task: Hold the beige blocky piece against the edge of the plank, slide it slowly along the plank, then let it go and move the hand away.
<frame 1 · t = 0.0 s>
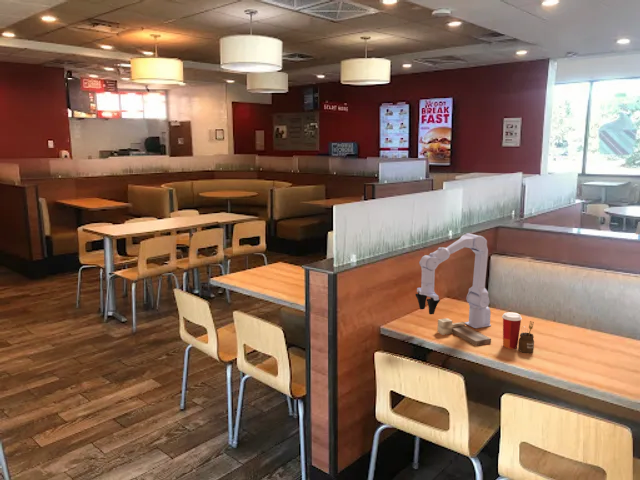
hand: (426, 311, 230), 10 cm above the table, tool pointing down, fingers open, 7 cm apart
paper cup: (509, 346, 216), on the table
plank: (467, 335, 228), on the table
utensil holder: (525, 351, 211), on the table
beige blocky piece: (444, 332, 232), on the table
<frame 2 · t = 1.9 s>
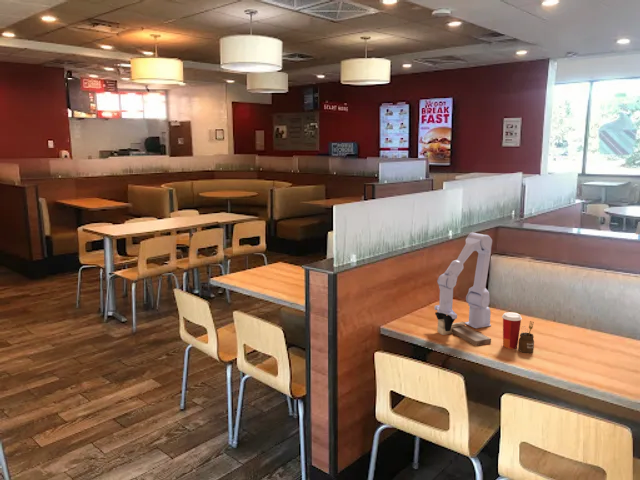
hand: (444, 329, 232), 2 cm above the table, tool pointing down, fingers closed on beige blocky piece, 4 cm apart
beige blocky piece: (444, 332, 232), on the table, touching gripper
everything else where it was.
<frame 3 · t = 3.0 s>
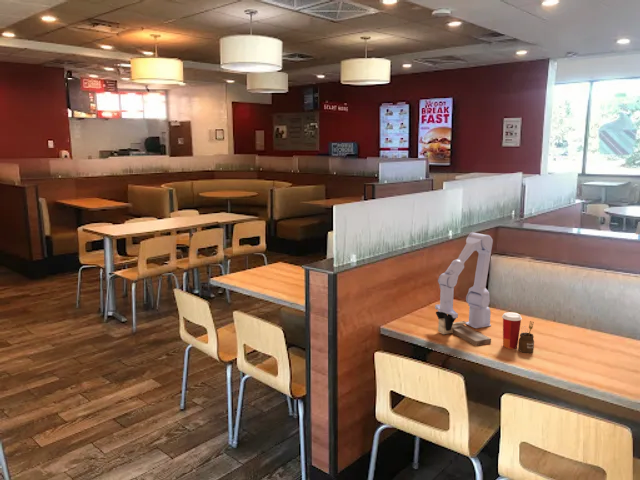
hand: (445, 328, 231), 2 cm above the table, tool pointing down, fingers closed on beige blocky piece, 4 cm apart
beige blocky piece: (445, 332, 231), on the table, touching gripper
everything else where it was.
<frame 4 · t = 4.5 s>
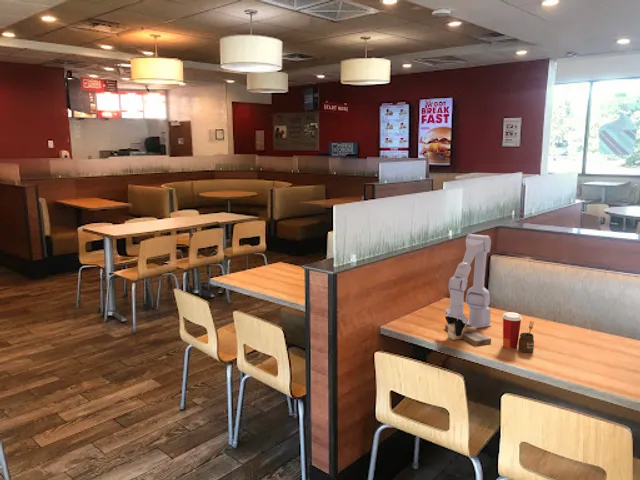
hand: (455, 333, 224), 2 cm above the table, tool pointing down, fingers closed on beige blocky piece, 4 cm apart
beige blocky piece: (455, 337, 225), on the table, touching gripper
everything else where it was.
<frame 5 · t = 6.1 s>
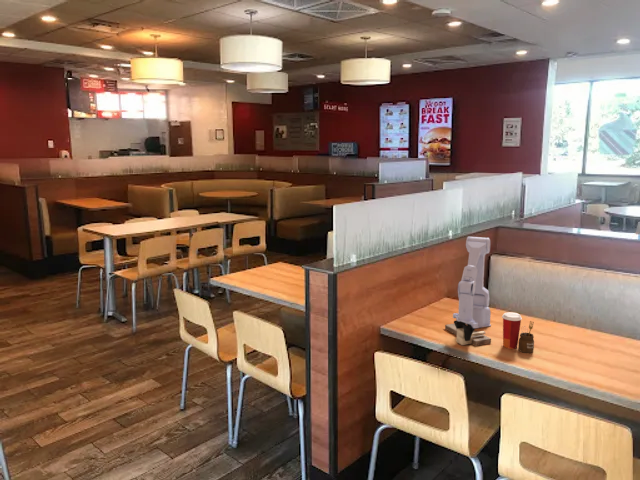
hand: (464, 338, 219), 2 cm above the table, tool pointing down, fingers closed on beige blocky piece, 4 cm apart
beige blocky piece: (464, 342, 219), on the table, touching gripper
everything else where it was.
when the fingers open (2 cm above the table, at t = 7.2 s): beige blocky piece stays where it is, on the table.
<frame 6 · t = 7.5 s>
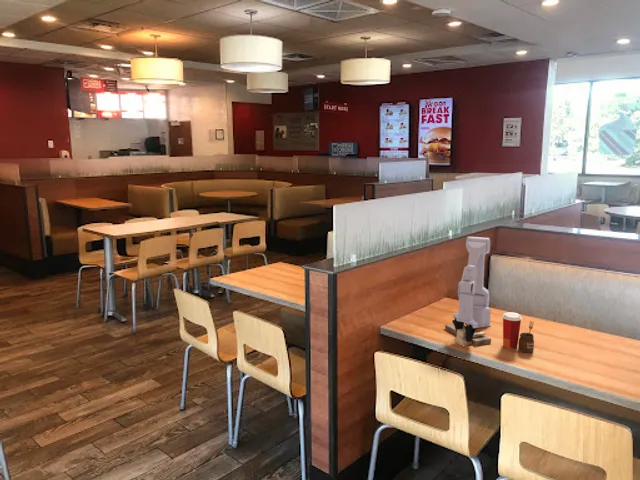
hand: (464, 338, 219), 2 cm above the table, tool pointing down, fingers open, 6 cm apart
beige blocky piece: (464, 343, 219), on the table
everything else where it was.
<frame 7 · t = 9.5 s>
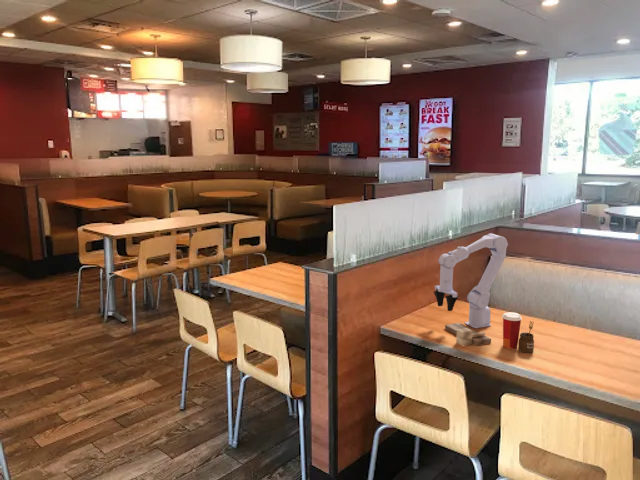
hand: (445, 308, 237), 9 cm above the table, tool pointing down, fingers open, 7 cm apart
nothing on the table moved.
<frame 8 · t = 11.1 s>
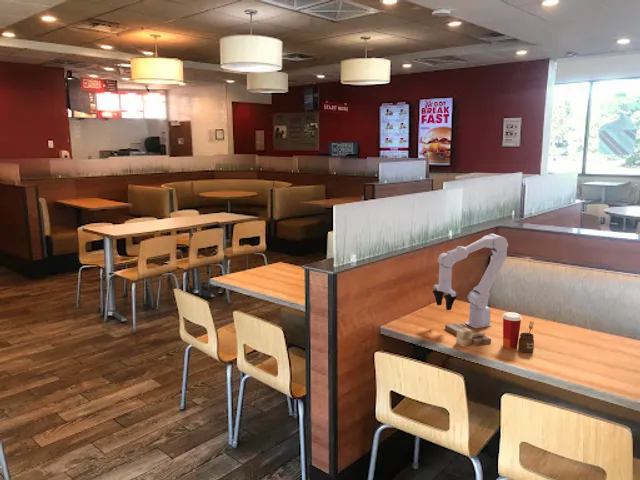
hand: (443, 307, 238), 9 cm above the table, tool pointing down, fingers open, 7 cm apart
nothing on the table moved.
at the end: beige blocky piece 0.4 cm from the target spot, on the table; beige blocky piece tilted 0°; the gripper is holding nothing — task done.
